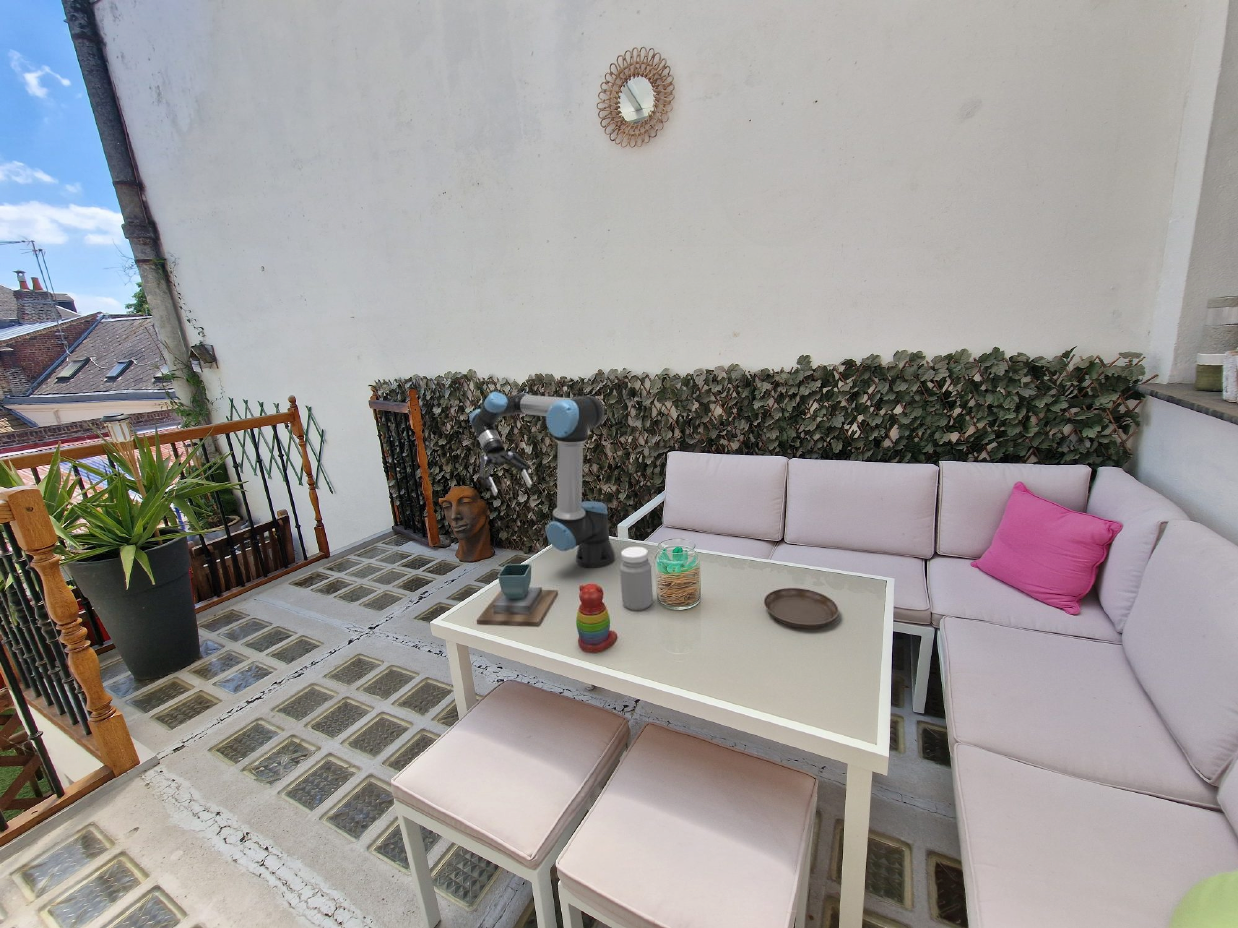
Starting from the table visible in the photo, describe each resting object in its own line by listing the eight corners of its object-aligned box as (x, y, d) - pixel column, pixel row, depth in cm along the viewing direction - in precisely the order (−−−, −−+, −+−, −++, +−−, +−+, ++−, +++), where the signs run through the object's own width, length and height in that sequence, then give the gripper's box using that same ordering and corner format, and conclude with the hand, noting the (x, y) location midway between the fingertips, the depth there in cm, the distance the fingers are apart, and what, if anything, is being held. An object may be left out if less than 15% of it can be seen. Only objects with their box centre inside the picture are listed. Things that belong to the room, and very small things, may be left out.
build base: (558, 594, 171) (556, 581, 170) (539, 626, 152) (537, 612, 151) (502, 592, 175) (500, 580, 174) (477, 624, 156) (475, 610, 155)
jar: (630, 614, 155) (626, 560, 151) (617, 601, 164) (613, 549, 160) (658, 606, 159) (655, 553, 155) (644, 593, 168) (641, 543, 163)
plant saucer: (848, 610, 150) (849, 600, 149) (821, 642, 135) (821, 631, 135) (782, 590, 164) (782, 581, 163) (751, 618, 149) (751, 607, 149)
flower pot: (534, 588, 166) (531, 563, 164) (528, 601, 158) (524, 575, 156) (508, 589, 167) (505, 564, 165) (500, 602, 159) (497, 576, 157)
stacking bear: (619, 635, 145) (615, 578, 141) (607, 655, 135) (602, 595, 131) (584, 630, 148) (579, 574, 144) (570, 650, 139) (564, 591, 135)
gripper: (519, 445, 203) (541, 487, 195) (458, 456, 189) (479, 502, 181) (523, 433, 198) (546, 476, 189) (461, 444, 184) (482, 491, 175)
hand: (513, 489), depth 185 cm, fingers open, 13 cm apart
